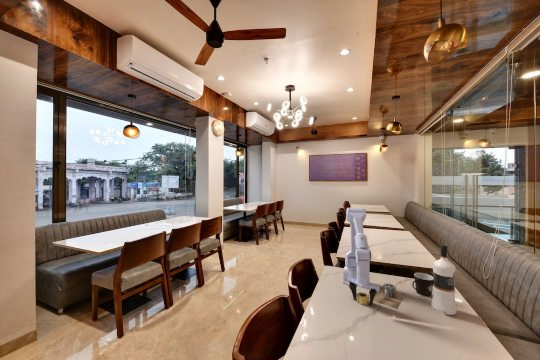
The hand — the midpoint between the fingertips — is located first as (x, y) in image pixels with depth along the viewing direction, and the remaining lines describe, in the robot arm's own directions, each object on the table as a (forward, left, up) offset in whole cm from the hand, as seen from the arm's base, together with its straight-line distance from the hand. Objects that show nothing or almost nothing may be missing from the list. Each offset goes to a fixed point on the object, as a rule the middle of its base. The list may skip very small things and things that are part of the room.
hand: (362, 301), depth 111 cm
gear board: (+8, +13, -1) cm, 15 cm away
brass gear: (0, 0, -1) cm, 1 cm away
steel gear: (+8, +16, 0) cm, 18 cm away
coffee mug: (+20, +28, -2) cm, 34 cm away
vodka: (+30, +19, -2) cm, 36 cm away
